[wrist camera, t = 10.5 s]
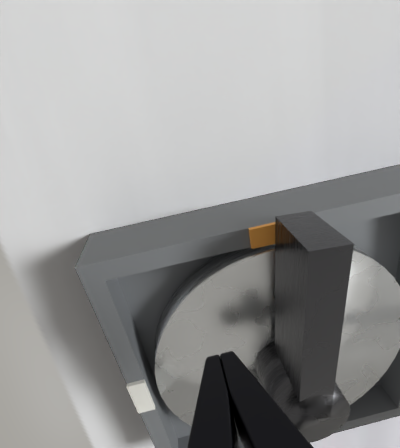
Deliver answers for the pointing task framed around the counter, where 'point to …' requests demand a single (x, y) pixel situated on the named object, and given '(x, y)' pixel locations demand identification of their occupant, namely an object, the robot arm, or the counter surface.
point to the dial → (285, 324)
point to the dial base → (208, 249)
